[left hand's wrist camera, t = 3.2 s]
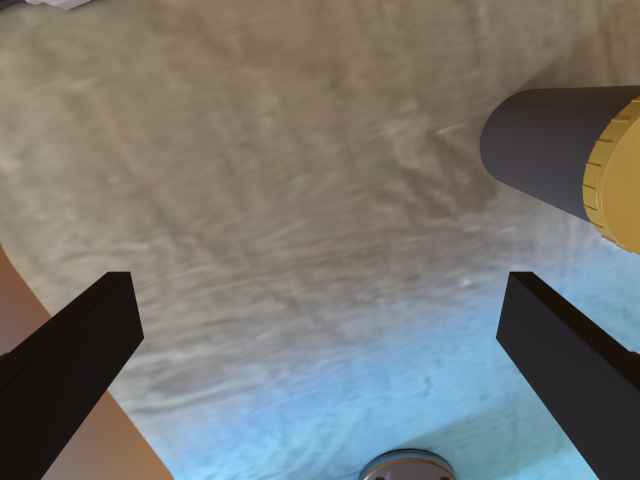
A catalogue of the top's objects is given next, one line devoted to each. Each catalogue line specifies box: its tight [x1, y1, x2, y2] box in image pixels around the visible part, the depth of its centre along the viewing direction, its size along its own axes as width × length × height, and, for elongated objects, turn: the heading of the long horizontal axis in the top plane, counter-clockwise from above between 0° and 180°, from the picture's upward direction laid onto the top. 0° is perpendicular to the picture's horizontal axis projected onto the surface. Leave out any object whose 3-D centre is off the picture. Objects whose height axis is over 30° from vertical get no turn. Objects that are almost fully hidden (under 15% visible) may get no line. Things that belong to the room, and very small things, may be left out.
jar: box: [480, 85, 640, 223], centre depth 30 cm, size 10×10×18 cm
